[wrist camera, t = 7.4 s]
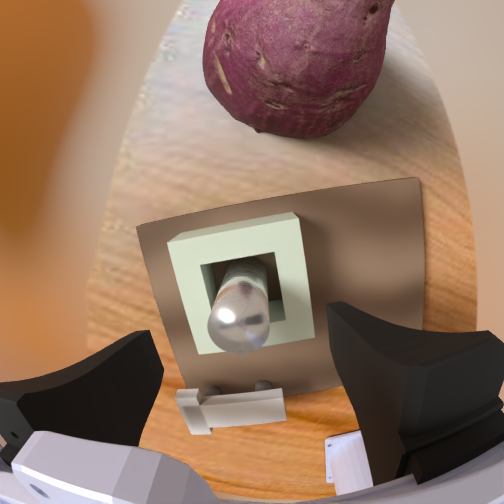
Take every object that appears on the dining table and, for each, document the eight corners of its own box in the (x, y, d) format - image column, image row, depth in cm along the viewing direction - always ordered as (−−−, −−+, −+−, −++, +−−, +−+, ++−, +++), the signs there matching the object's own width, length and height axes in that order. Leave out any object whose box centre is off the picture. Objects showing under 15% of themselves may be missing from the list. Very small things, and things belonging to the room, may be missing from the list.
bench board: (413, 362, 21) (432, 389, 18) (197, 402, 23) (189, 434, 19) (411, 177, 18) (442, 178, 14) (141, 224, 19) (115, 235, 15)
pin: (271, 288, 19) (276, 346, 12) (233, 299, 19) (219, 359, 12) (260, 251, 18) (259, 293, 12) (220, 262, 19) (198, 308, 12)
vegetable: (326, 31, 18) (432, -83, 4) (356, 145, 19) (539, 71, 5) (194, 27, 16) (223, -146, 2) (207, 153, 17) (274, -54, 3)
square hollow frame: (307, 315, 19) (315, 337, 16) (206, 331, 20) (198, 354, 17) (292, 211, 18) (298, 218, 15) (181, 232, 18) (167, 242, 15)
